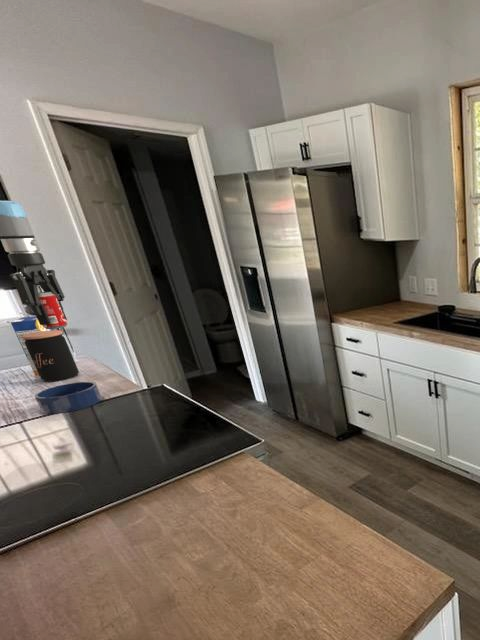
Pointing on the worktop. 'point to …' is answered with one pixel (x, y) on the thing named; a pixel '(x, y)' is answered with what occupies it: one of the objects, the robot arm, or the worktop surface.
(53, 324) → the beverage can
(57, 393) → the blue bowl
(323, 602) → the worktop surface
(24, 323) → the beverage box
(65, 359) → the coffee jar
